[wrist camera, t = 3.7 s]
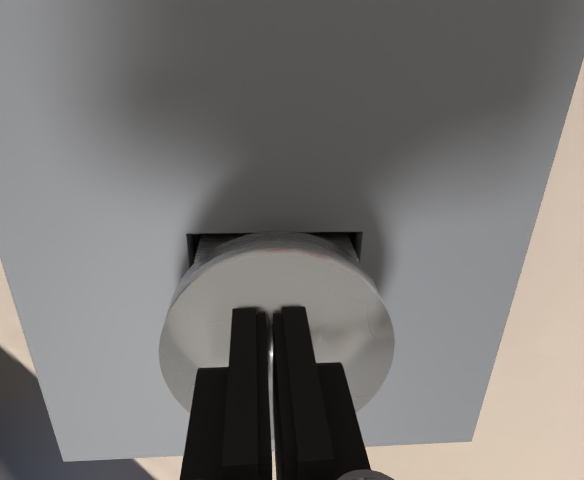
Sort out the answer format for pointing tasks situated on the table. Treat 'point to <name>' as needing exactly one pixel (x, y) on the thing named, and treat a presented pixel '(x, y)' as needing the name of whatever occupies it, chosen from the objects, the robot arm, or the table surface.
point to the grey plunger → (277, 307)
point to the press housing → (272, 183)
